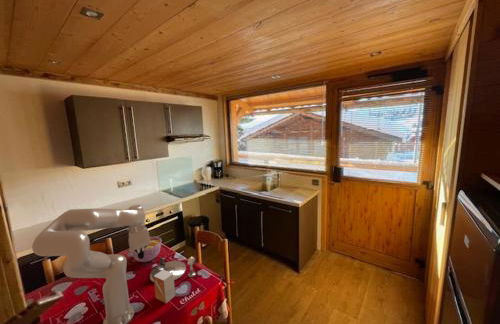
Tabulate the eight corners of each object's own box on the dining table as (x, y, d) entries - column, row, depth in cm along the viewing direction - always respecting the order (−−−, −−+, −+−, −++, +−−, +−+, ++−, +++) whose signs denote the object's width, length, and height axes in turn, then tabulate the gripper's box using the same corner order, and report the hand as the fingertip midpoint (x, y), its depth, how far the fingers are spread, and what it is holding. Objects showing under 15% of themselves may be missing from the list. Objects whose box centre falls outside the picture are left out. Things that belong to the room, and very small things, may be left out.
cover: (166, 275, 130) (165, 267, 129) (154, 280, 125) (154, 272, 125) (161, 270, 135) (161, 262, 134) (150, 275, 130) (149, 268, 130)
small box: (155, 298, 113) (153, 275, 112) (165, 290, 119) (163, 269, 117) (165, 304, 109) (163, 280, 108) (175, 295, 115) (173, 273, 113)
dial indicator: (197, 274, 131) (195, 256, 130) (190, 278, 128) (188, 260, 127) (193, 271, 135) (191, 254, 133) (186, 275, 132) (185, 257, 130)
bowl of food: (168, 255, 155) (167, 240, 153) (142, 270, 138) (140, 253, 136) (152, 248, 165) (150, 234, 164) (125, 262, 148) (123, 246, 147)
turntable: (192, 271, 134) (191, 262, 134) (158, 289, 120) (157, 279, 119) (176, 258, 149) (175, 250, 148) (144, 273, 135) (143, 264, 134)
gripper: (124, 234, 112) (128, 266, 115) (153, 224, 123) (157, 254, 125) (120, 230, 118) (124, 261, 120) (148, 221, 128) (152, 250, 130)
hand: (141, 257), depth 123 cm, fingers closed
